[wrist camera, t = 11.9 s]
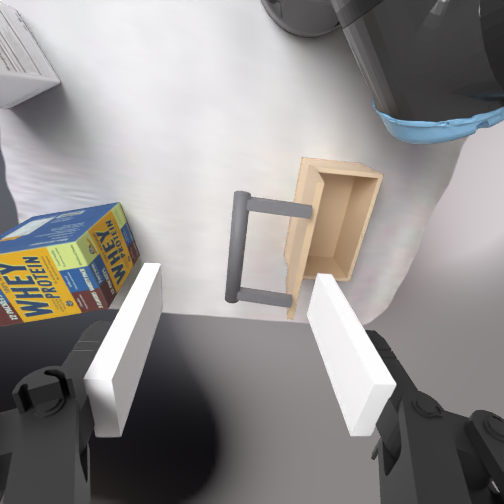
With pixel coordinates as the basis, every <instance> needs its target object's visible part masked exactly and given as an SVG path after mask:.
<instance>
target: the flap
mask: <svg viewBox="0 0 504 504" xmlns="http://www.w3.org/2000/svg"><path fill="white" fill-rule="evenodd" d="M323 187H324V181H323V179H322V178H321V176H320V174H319V173H318V171H317V169H316V167H315V166H314V165H308V171H307V176H306V181H305V186H304V191H303V196H302V201H301V204H300V203H293V202H286V201H278V200H271V199H264V198H256V197H251V194H250V193H248V192H244V191H236V192H234V200H233V211H232V223H231V235H230V246H229V258H228V269H227V281H226V292H225V300H226V301H227V302H229V303H236V302H238V301H239V300H241V301H247V302H254V303H261V304H268V305H274V306H281V307H287V319H292V320H293V318H294V314H295V309H296V305H297V301H298V296H299V292H300V288H301V283H302V279H303V274H304V270H305V266H306V261H307V257H308V253H309V248H310V244H311V239H312V235H313V231H314V226H315V222H316V218H317V213H318V209H319V205H320V200H321V196H322V191H323ZM249 211H255V212H263V213H270V214H277V215H284V216H291V217H298V221H297V226H296V231H295V236H294V241H293V246H292V251H291V256H290V261H289V267H288V272H287V277H286V293H287V294H284V293H277V292H270V291H264V290H257V289H250V288H243V287H240V285H241V276H242V267H243V258H244V250H245V241H246V232H247V223H248V214H249Z"/></svg>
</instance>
